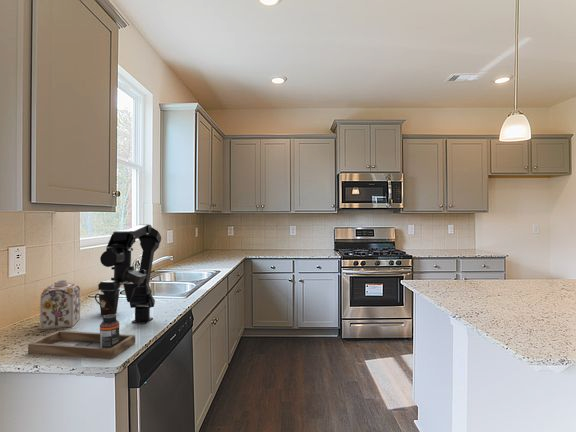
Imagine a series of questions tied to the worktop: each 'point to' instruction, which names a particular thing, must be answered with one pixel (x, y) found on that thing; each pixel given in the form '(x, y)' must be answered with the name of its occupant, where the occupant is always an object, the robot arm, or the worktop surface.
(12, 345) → the worktop surface
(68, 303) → the decorative jar
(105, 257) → the robot arm
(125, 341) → the wooden serving tray
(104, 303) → the coffee mug
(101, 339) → the supplement bottle
